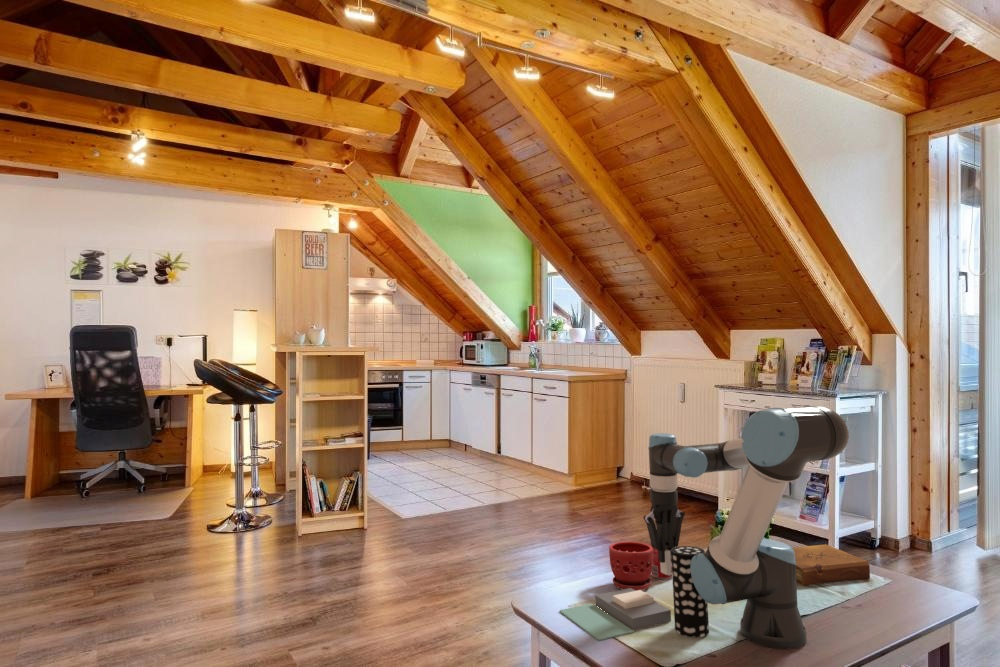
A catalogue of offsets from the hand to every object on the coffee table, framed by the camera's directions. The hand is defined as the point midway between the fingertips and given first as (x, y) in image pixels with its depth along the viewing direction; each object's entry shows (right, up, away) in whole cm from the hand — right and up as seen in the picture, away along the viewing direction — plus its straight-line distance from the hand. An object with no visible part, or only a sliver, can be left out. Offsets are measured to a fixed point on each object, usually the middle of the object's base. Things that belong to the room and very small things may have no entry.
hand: (665, 572), depth 179 cm
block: (-10, -6, -5) cm, 13 cm away
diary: (+54, -9, +22) cm, 59 cm away
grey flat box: (-11, -9, -5) cm, 15 cm away
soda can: (+5, -10, +22) cm, 24 cm away
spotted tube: (+2, -8, -17) cm, 19 cm away
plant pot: (-6, -10, +15) cm, 19 cm away
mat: (-21, -9, -10) cm, 25 cm away
